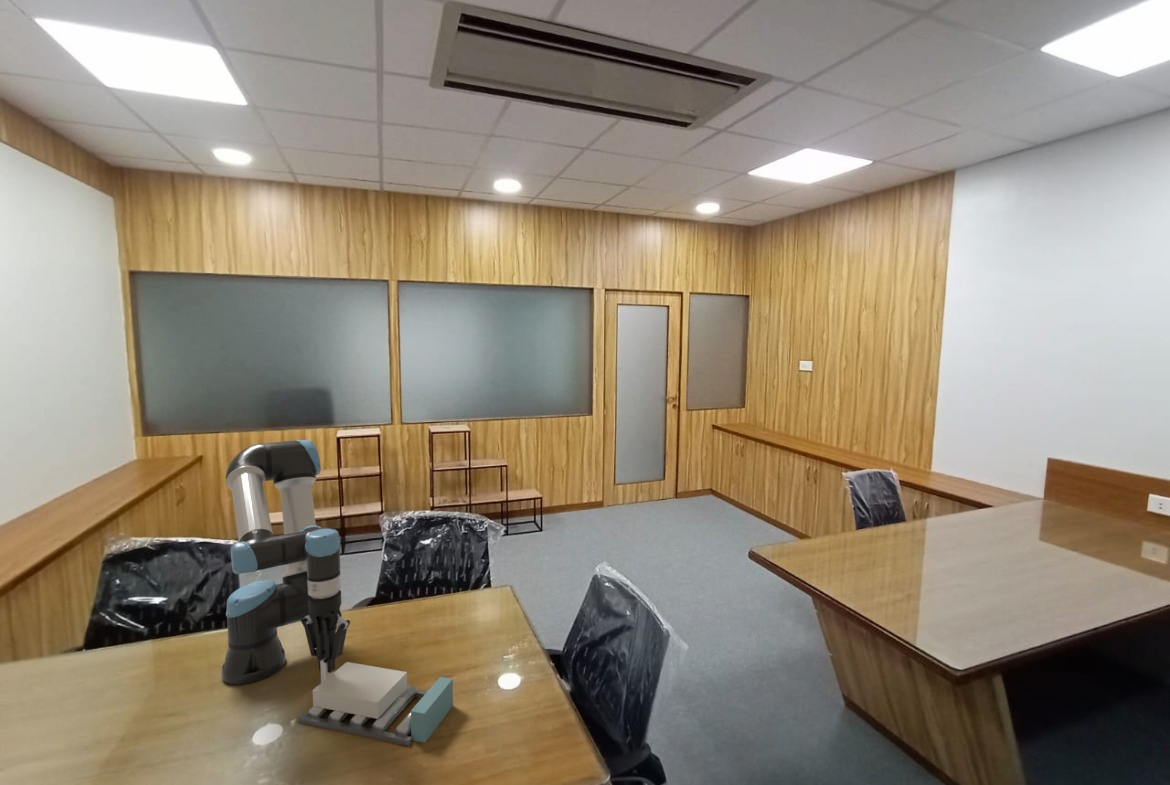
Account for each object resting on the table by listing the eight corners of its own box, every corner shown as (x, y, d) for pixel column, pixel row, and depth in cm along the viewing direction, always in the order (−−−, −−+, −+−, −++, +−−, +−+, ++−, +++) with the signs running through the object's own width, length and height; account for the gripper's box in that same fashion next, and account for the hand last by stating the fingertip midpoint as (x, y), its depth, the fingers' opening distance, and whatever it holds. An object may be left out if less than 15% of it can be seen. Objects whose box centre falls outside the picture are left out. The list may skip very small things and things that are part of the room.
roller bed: (409, 745, 117) (408, 733, 116) (298, 722, 124) (297, 710, 124) (445, 699, 132) (445, 688, 132) (345, 681, 140) (345, 670, 140)
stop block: (411, 740, 118) (410, 711, 118) (440, 703, 131) (440, 676, 130) (424, 742, 118) (424, 713, 117) (453, 705, 130) (452, 678, 130)
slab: (313, 705, 125) (312, 690, 125) (347, 676, 137) (346, 661, 137) (377, 718, 121) (377, 702, 121) (407, 687, 132) (407, 672, 132)
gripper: (291, 596, 127) (294, 688, 129) (335, 602, 124) (338, 696, 126) (314, 583, 135) (317, 670, 136) (356, 589, 131) (359, 678, 133)
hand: (327, 683), depth 131 cm, fingers closed
